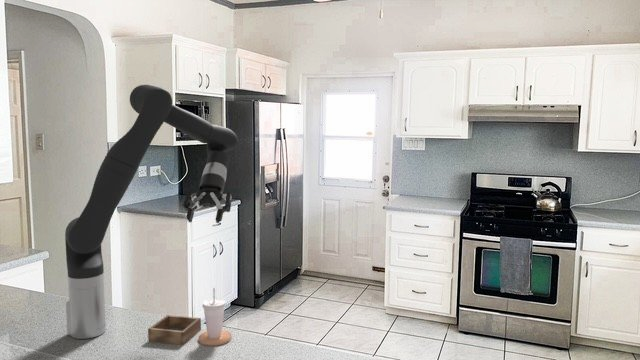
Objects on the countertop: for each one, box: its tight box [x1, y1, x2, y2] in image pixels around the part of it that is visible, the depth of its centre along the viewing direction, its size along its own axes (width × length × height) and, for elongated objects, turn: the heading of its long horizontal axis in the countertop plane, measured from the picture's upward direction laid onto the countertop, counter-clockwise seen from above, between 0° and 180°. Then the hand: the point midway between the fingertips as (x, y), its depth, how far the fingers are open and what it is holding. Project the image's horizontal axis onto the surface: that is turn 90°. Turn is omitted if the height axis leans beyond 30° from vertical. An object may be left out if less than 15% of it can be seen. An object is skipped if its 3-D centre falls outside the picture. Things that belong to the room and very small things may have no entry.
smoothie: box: [202, 286, 227, 339], centre depth 139 cm, size 6×6×14 cm
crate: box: [147, 314, 202, 346], centre depth 142 cm, size 11×11×4 cm
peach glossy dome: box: [198, 329, 233, 347], centre depth 140 cm, size 9×9×1 cm
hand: (203, 221), depth 151 cm, fingers open, 8 cm apart
